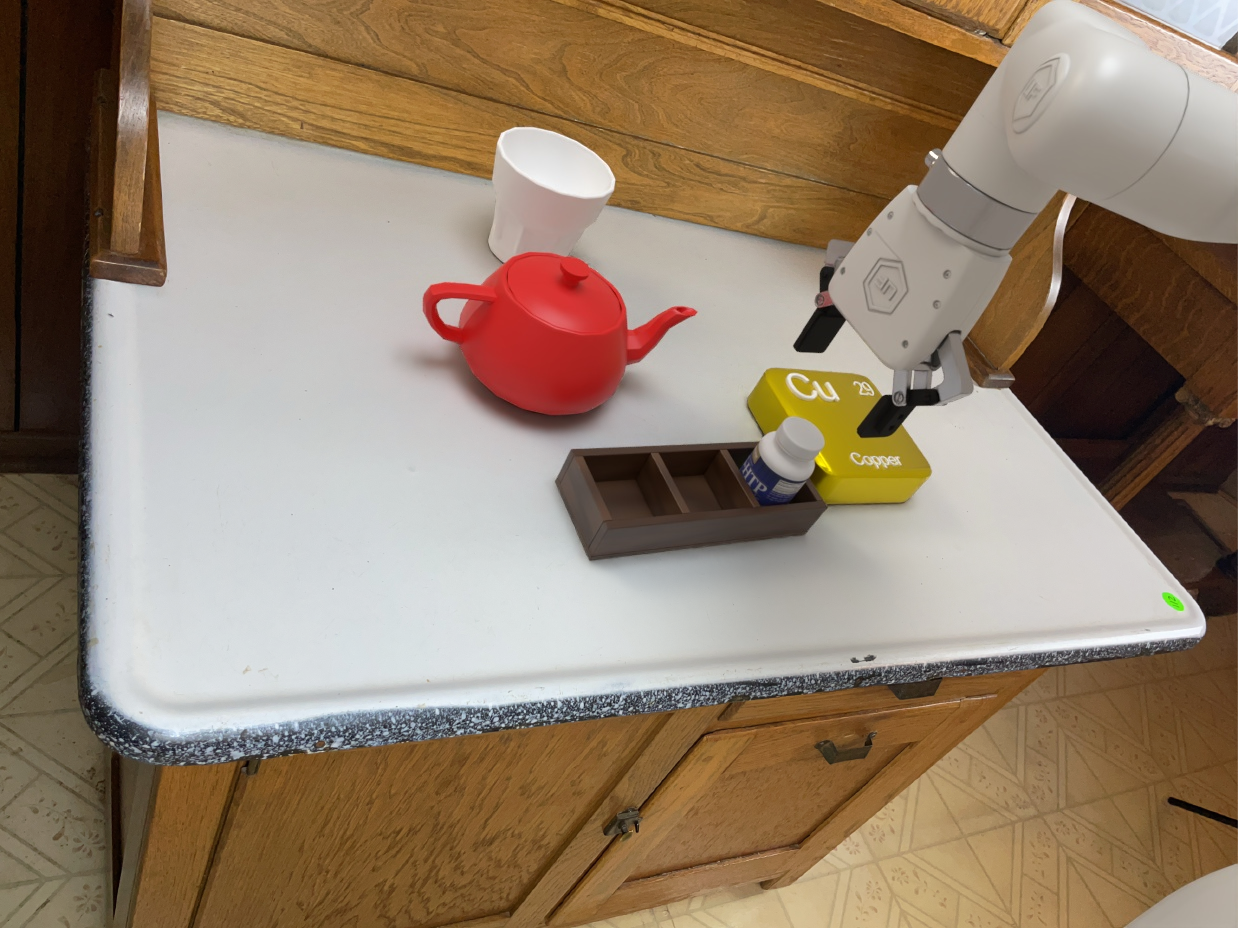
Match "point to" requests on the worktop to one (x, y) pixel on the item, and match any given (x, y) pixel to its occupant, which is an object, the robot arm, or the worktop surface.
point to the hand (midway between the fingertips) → (837, 391)
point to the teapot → (547, 332)
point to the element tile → (842, 435)
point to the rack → (673, 499)
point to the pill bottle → (783, 461)
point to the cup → (545, 192)
